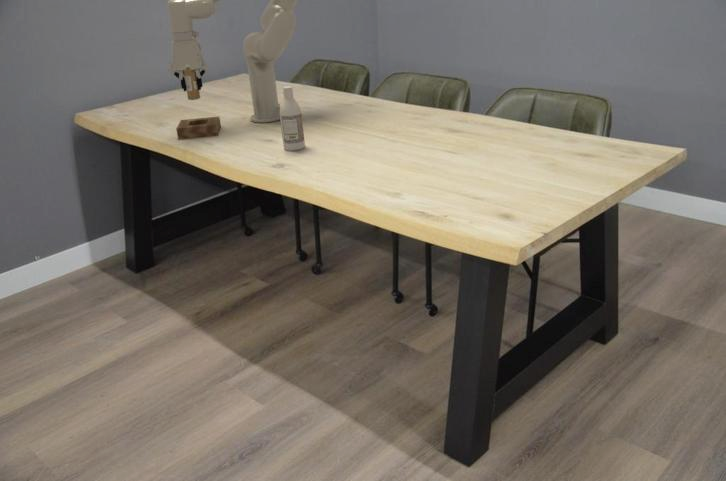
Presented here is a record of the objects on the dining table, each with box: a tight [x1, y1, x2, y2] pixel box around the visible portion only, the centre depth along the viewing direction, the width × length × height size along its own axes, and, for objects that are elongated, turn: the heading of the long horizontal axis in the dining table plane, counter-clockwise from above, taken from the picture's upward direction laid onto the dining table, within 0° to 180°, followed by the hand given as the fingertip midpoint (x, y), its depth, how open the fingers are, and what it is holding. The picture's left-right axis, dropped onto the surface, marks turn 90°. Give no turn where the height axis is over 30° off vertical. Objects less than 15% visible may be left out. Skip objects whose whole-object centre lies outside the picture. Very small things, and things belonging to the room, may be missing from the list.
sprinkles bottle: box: [183, 64, 201, 101], centre depth 253 cm, size 5×5×13 cm
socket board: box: [175, 116, 222, 141], centre depth 260 cm, size 14×12×4 cm
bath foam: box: [279, 85, 306, 152], centre depth 231 cm, size 7×7×20 cm
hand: (192, 89), depth 254 cm, fingers closed on sprinkles bottle, 4 cm apart
